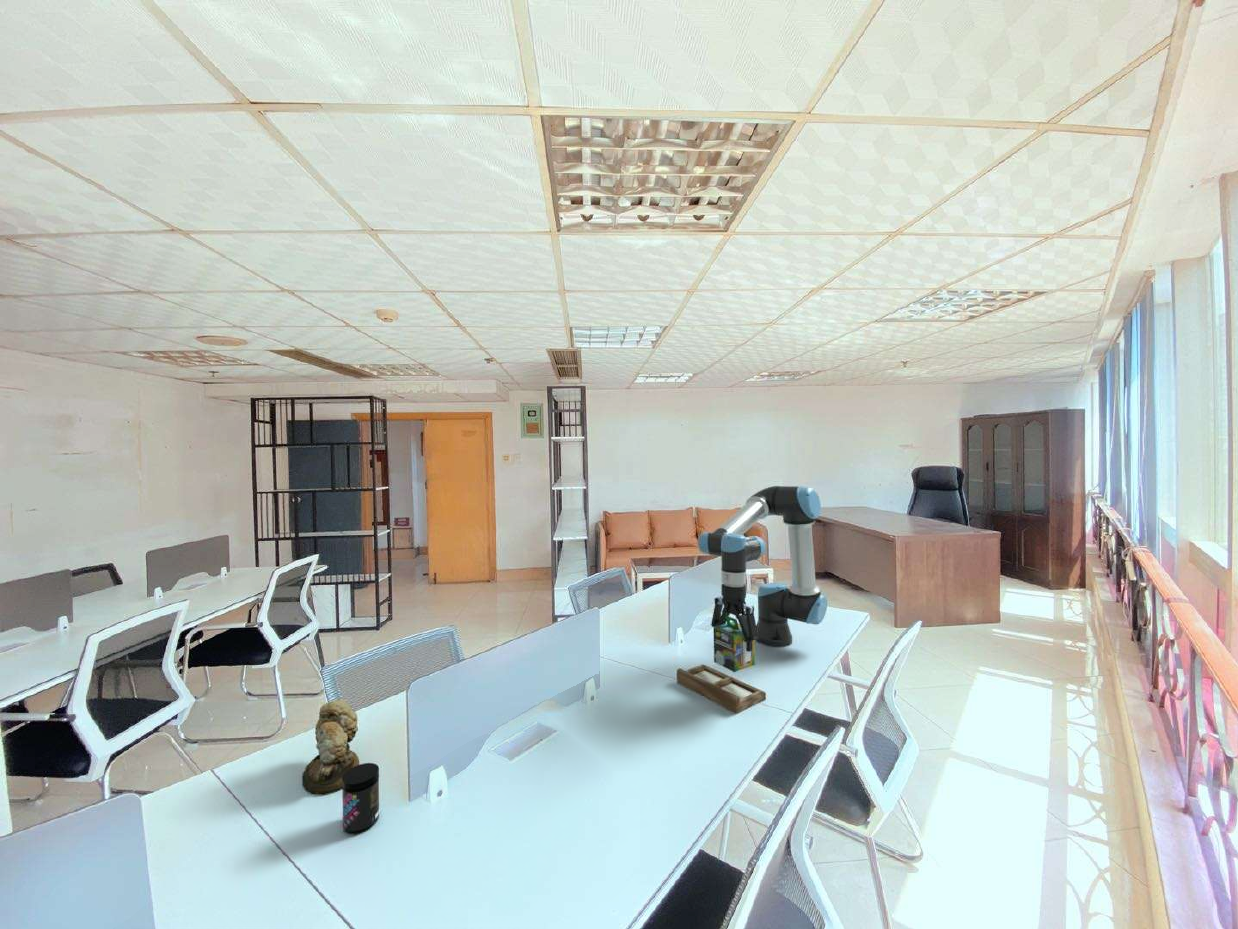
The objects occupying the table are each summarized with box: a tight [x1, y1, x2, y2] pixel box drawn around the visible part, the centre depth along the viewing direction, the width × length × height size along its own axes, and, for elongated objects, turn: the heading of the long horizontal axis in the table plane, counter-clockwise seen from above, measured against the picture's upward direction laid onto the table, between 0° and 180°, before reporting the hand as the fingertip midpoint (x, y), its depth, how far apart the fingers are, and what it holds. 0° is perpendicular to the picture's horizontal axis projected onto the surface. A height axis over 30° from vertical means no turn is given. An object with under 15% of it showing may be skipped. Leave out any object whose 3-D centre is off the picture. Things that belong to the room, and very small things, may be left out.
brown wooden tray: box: [676, 664, 767, 715], centre depth 154 cm, size 14×25×4 cm, turn 37°
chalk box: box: [712, 615, 756, 673], centre depth 149 cm, size 9×9×15 cm
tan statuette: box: [301, 699, 360, 796], centre depth 115 cm, size 18×12×17 cm, turn 36°
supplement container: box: [341, 762, 380, 835], centre depth 99 cm, size 7×7×10 cm
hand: (733, 655), depth 149 cm, fingers closed on chalk box, 9 cm apart
